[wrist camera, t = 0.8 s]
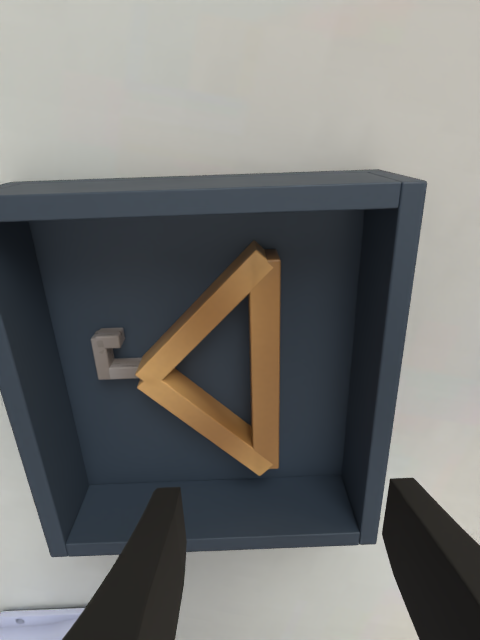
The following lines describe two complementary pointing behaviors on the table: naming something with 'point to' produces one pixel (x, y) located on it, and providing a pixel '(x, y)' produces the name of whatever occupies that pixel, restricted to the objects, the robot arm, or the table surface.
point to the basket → (206, 350)
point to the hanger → (187, 332)
